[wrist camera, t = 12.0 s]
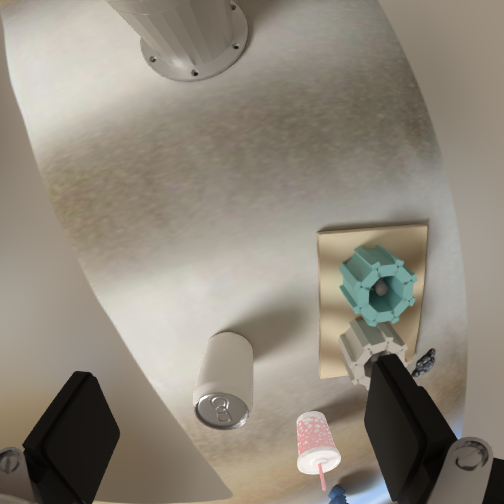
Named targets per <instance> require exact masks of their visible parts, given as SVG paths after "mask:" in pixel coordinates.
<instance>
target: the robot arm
mask: <svg viewBox="0 0 504 504" xmlns="http://www.w3.org/2000/svg"><path fill="white" fill-rule="evenodd" d="M106 1H107V2H108V3H109V4H110V5H111V6H112V8H113V9H114V10H115V11H116V12H117V13H118V14H119V15H120V16H121V17H122V18H123V19H124V20H125V21H126V22H127V23H128V24H129V25H130V26H131V27H132V28H133V29H134V30H135V31H136V32H137V33H138V34H139V35H140V36H141V40H140V44H141V51H142V54H143V57H144V59H145V60H146V62H147V63H148V65H149V66H150V67H151V68H152V69H153V70H154V71H156V72H157V73H159V74H160V75H161V76H164V77H166V78H168V79H171V80H175V81H182V82H193V81H200V80H204V79H208V78H211V77H213V76H215V75H217V74H220V73H221V72H223V71H224V70H226V69H227V68H229V67H230V66H231V65H232V64H233V63H234V62H235V61H236V60H237V59H238V57H239V56H240V55H241V53H242V51H243V49H244V47H245V45H246V42H247V37H248V25H247V20H246V17H245V14H244V12H243V11H242V9H241V8H240V6H239V5H238V4H237V3H236V2H234V1H233V0H106ZM232 9H234V10H232ZM235 47H238V48H239V49H234V48H235ZM154 60H156V61H155V62H153V61H154ZM195 73H198V75H197V76H194V74H195ZM364 423H365V428H366V431H367V433H368V436H369V439H370V441H371V444H372V447H373V449H374V452H375V455H376V458H377V460H378V463H379V466H380V469H381V471H382V474H383V477H384V480H385V483H386V485H387V488H388V491H389V494H390V497H391V499H392V501H393V502H395V501H397V502H398V504H504V460H502V459H498V458H493V451H492V448H491V447H490V445H489V444H488V443H487V442H485V441H484V440H482V439H480V438H476V437H465V438H461V439H459V440H458V439H457V438H456V436H455V434H454V433H453V431H452V430H451V428H450V426H449V425H448V423H447V422H446V420H445V419H444V417H443V416H442V414H441V412H440V411H439V409H438V408H437V406H436V405H435V403H434V402H433V400H432V399H431V397H430V396H429V394H428V393H427V391H426V390H425V389H424V388H423V387H422V386H418V385H417V384H416V382H415V381H414V379H413V378H412V376H411V375H410V373H409V372H408V370H407V369H406V367H405V366H404V364H403V363H402V361H401V360H400V358H399V357H398V355H397V354H395V353H394V354H388V355H383V356H379V357H378V359H377V361H374V362H373V364H372V371H371V379H370V386H369V393H368V399H367V406H366V412H365V418H364ZM119 437H120V430H119V428H118V425H117V423H116V421H115V419H114V417H113V415H112V413H111V410H110V408H109V406H108V404H107V402H106V399H105V397H104V395H103V392H102V390H101V388H100V385H99V383H98V380H97V378H96V377H94V376H93V375H92V374H91V373H90V372H82V371H75V372H74V373H73V374H72V376H71V377H70V378H69V380H68V381H67V382H66V384H65V385H64V386H63V388H62V389H61V390H60V392H59V393H58V394H57V396H56V397H55V399H54V400H53V402H52V403H51V404H50V406H49V407H48V408H47V410H46V411H45V413H44V414H43V415H42V417H41V418H40V420H39V421H38V423H37V424H36V425H35V427H34V428H33V430H32V431H31V433H30V434H29V435H28V437H27V439H26V440H25V441H24V443H23V444H22V446H23V447H24V448H25V450H24V452H22V451H21V450H20V449H18V448H16V447H7V448H4V449H2V450H0V504H92V503H93V500H94V498H95V495H96V492H97V490H98V488H99V485H100V483H101V480H102V478H103V475H104V473H105V471H106V468H107V466H108V463H109V461H110V459H111V456H112V454H113V451H114V449H115V447H116V444H117V442H118V440H119Z"/></svg>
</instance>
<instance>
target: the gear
mask: <svg viewBox="0 0 504 504" xmlns="http://www.w3.org/2000/svg"><path fill="white" fill-rule="evenodd" d="M349 324H350V325H351V326H350V327H349V329H348V330H347V332H346V333H345V334H344V336H339V339H338V343H339V345H340V347H341V350H342V353H341V354H340V355H341V358H342V360H343V362H344V365H345V367H346V370H347V372H348V374H349V377H350V379H351V381H352V383H353V384H354V385H356V384H358V383H360V384H362V385H365V387H366V389H367V390H369V386H370V379H371V371H372V364H373V363H372V362H371V360H370V357H371V356H372V354H375V353H378V352H379V353H380V354H381V356H383V355H388V354H394V353H395V354H397V355H398V357H399V358H400V360H401V361H402V363H403V364H404V366H405V367H407V364H408V361H407V359H406V358H405V351H406V350H407V349H408V347H407V346H406V344H405V343H404V341H403V340H402V339H401V337H400V336H399V335H398V334H397V332H396V331H395V330H394V328H393V327H392V326H391V325H390V323H389V322H388V321H386V322H385V323H383V322H379V323H377V324H376V326H375V327H374V326H369V325H368V324H367V322H366V321H365V319H363V320H360V321H356V320H355V319H354V320H352V321H351V322H349Z"/></svg>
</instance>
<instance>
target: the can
mask: <svg viewBox="0 0 504 504" xmlns="http://www.w3.org/2000/svg"><path fill="white" fill-rule="evenodd" d="M193 404H194V412H195V415H196V417H197V418H198V420H199V421H200V422H201V423H203V424H204V425H206V426H208V427H210V428H213V429H217V430H232V429H236V428H238V427H240V426H242V425H243V424H244V423H245V422H246V421H247V419H248V417H249V413H250V412H251V410H252V407H253V349H252V346H251V344H250V343H249V342H248V341H247V340H246V339H245V338H244V337H242V336H241V335H238V334H235V333H231V332H225V333H220V334H217V335H215V336H213V337H211V338H210V339H209V340H208V342H207V343H206V345H205V348H204V352H203V356H202V360H201V364H200V368H199V372H198V376H197V380H196V385H195V389H194V394H193Z"/></svg>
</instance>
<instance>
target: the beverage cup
mask: <svg viewBox="0 0 504 504" xmlns="http://www.w3.org/2000/svg"><path fill="white" fill-rule="evenodd" d="M297 434H298V451H299V458H298V459H297V464H298V469H299V470H300V471H301V472H303V473H306V474H320V478H321V484H322V489H323V491H326V485H325V480H324V475H323V473H325V472H327V471H330V470H332V469H333V468H335V467H336V466H337V465H338V464H339V463H340V460H341V456H340V453H339V452H338V450H337V449H336V447H335V444H334V441H333V438H332V435H331V432H330V430H329V427H328V424H327V421H326V418H325V416H324V415H323V414H322V413H320V412H317V411H311V412H306V413H304V414H302V415H301V416H300V417H299V418H298V420H297Z"/></svg>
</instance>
